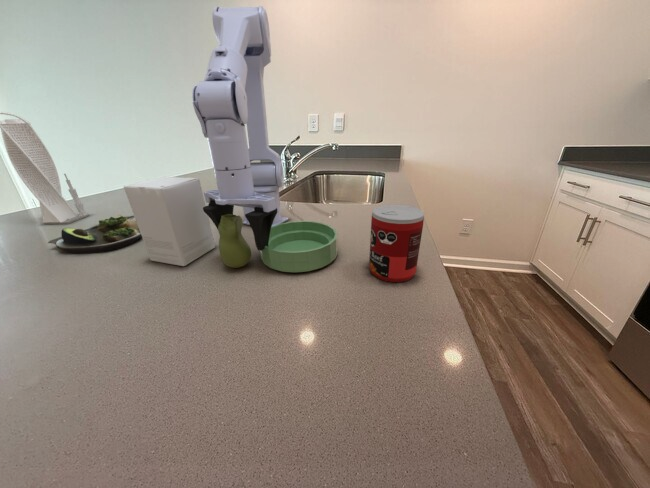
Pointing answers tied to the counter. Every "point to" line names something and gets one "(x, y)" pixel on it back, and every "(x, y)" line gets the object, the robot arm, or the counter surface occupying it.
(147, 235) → the white product box
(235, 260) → the pear
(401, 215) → the canned food
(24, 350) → the counter surface
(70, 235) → the salad plate
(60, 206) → the skyscraper
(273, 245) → the bowl
